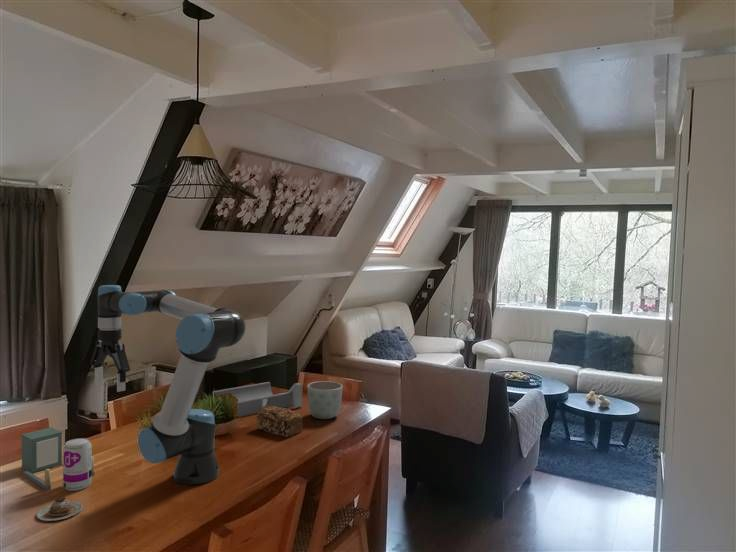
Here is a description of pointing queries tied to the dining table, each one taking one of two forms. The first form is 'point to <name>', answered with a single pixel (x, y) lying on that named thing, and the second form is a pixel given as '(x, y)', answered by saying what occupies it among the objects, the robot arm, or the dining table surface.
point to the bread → (279, 421)
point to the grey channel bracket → (263, 397)
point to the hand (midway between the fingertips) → (109, 388)
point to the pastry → (59, 509)
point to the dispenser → (43, 454)
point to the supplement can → (77, 464)
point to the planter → (324, 399)
